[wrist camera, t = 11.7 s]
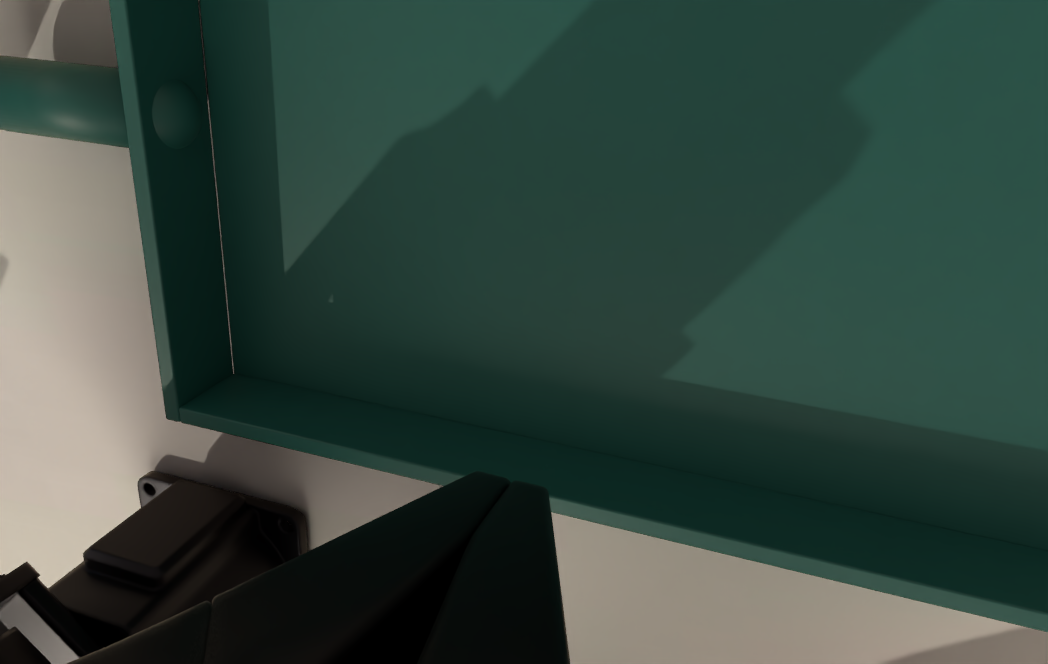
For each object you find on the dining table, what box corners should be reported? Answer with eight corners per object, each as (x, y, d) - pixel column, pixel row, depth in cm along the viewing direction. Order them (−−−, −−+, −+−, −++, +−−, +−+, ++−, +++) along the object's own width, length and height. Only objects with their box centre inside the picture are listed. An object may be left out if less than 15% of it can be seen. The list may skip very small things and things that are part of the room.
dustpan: (1577, -304, 11) (1812, -402, 9) (1135, 580, 18) (1196, 669, 15) (-34, -264, 19) (-156, -310, 16) (77, 346, 25) (3, 380, 23)
